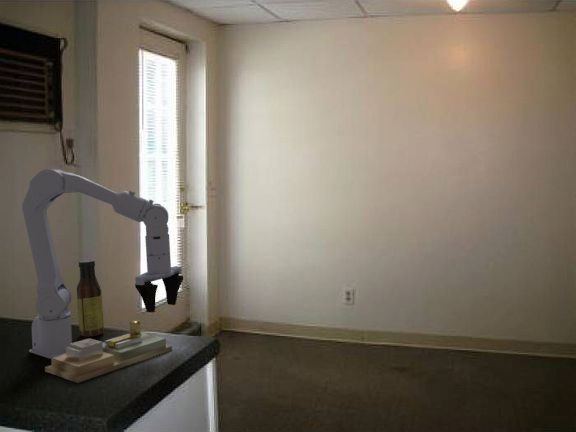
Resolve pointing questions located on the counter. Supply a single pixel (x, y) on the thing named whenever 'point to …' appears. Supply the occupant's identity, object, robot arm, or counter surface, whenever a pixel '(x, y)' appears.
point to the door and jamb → (107, 359)
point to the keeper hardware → (95, 347)
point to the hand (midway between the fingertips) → (161, 308)
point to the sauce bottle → (89, 301)
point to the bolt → (134, 333)
